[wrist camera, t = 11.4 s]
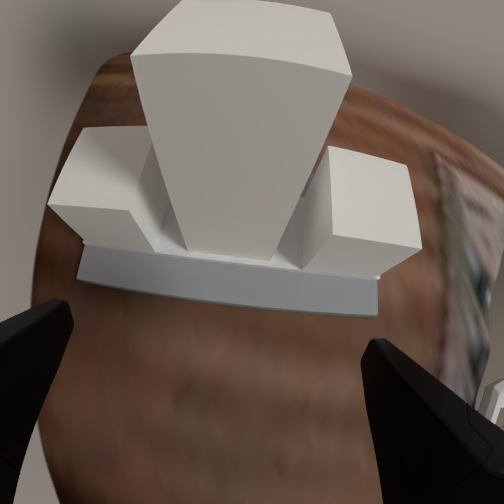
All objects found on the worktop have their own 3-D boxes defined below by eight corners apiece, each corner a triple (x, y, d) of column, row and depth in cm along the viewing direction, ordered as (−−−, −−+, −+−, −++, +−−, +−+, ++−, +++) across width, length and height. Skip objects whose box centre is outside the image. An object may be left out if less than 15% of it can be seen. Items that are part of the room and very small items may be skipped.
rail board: (371, 317, 18) (433, 296, 11) (81, 281, 17) (26, 246, 10) (365, 191, 21) (404, 138, 15) (119, 161, 20) (93, 102, 14)
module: (270, 261, 17) (352, 76, 5) (188, 251, 17) (130, 55, 5) (275, 196, 19) (330, 12, 7) (201, 187, 19) (185, -3, 6)
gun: (473, 540, 7) (417, 549, 8) (454, 532, 10) (397, 536, 11) (540, 383, 14) (506, 356, 15) (519, 386, 17) (480, 361, 18)
